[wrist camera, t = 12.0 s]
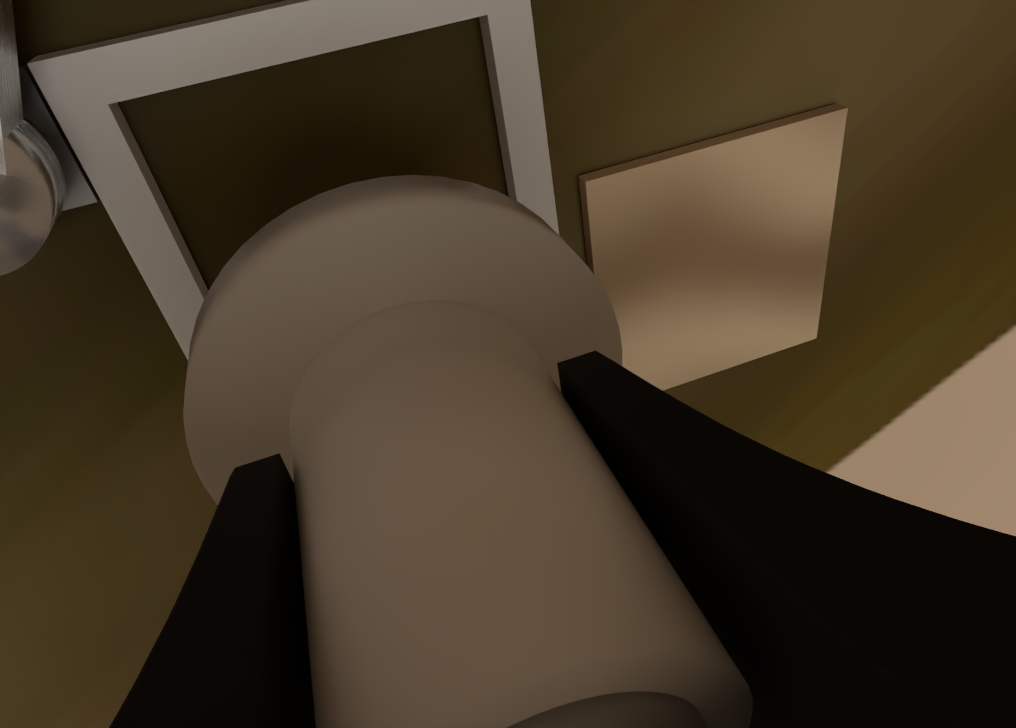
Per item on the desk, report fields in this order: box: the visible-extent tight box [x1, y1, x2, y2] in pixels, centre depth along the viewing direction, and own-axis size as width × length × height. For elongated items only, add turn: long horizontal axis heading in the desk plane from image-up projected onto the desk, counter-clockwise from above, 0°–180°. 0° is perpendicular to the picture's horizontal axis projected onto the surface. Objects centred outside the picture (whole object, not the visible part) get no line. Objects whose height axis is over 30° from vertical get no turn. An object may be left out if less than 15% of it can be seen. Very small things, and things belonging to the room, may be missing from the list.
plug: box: [183, 175, 753, 728], centre depth 9 cm, size 7×7×7 cm
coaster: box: [578, 104, 848, 391], centre depth 21 cm, size 8×8×1 cm
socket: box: [27, 0, 559, 360], centre depth 17 cm, size 10×10×1 cm
